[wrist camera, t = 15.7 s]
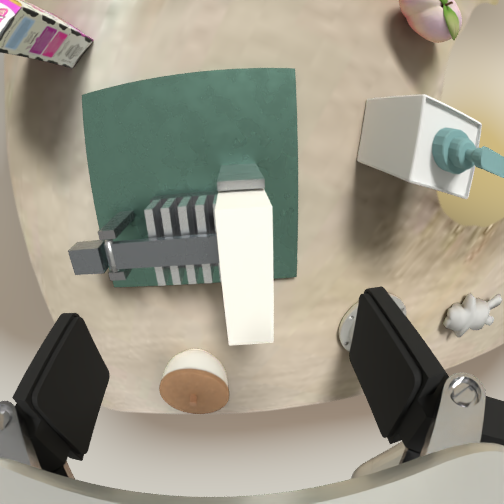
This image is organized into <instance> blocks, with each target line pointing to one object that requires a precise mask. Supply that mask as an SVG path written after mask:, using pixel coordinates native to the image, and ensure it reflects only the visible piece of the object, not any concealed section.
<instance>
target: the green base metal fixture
mask: <svg viewBox="0 0 504 504" xmlns="http://www.w3.org/2000/svg"><path fill="white" fill-rule="evenodd" d="M82 108H83V122H84V134H85V144H86V153H87V161H88V168H89V175H90V181H91V188H92V193H93V199H94V205H95V210H96V215H97V220H98V225H99V229H100V230H99V231H98V235H99V239H100V240H108V239H113V241H123V240H135V239H147V238H159V237H171V236H184V235H198V234H212V233H217V231H216V219H215V206H216V201H217V196H218V191H224V190H239V189H257V188H264V190H265V192H266V194H267V196H268V198H269V201H270V203H271V205H272V214H273V279H277V278H290V277H296V276H297V239H298V140H297V104H296V79H295V69H292V68H249V69H227V70H214V71H203V72H193V73H185V74H177V75H170V76H164V77H158V78H152V79H146V80H141V81H136V82H131V83H127V84H122V85H118V86H114V87H110V88H106V89H102V90H98V91H94V92H91V93H87V94H84V95H82ZM109 270H110V267H109ZM108 274H109V278H110V281H113V284H114V287H136V286H163V285H181V284H199V283H217V282H222V281H221V271H220V263H212V264H196V265H180V266H164V267H148V268H131V269H120V270H119V271H118V272H112V270H110V271H109V273H108Z"/></svg>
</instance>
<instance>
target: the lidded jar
mask: <svg viewBox="0 0 504 504" xmlns="http://www.w3.org/2000/svg"><path fill="white" fill-rule="evenodd" d="M160 394H161V396H162V398H163V399H164V400H165V401H166V402H167V403H168V404H169V405H170V406H172V407H174V408H176V409H178V410H180V411H183V412H187V413H193V414H205V413H211V412H214V411H217V410H219V409H221V408H222V407H224V406H225V405H226V403H227V402H228V399H229V389H228V379H227V374H226V371H225V369H224V367H223V365H222V364H221V362H220V361H219V360H218V359H217V358H216V357H215V356H213V355H212V354H210V353H209V352H207V351H205V350H202V349H196V348H195V349H188V350H186V351H183V352H181V353H179V354H177V355H176V356H174V357H173V358H172V359H171V360H170V361H169V363H168V365H167V366H166V368H165V371H164V374H163V377H162V380H161V383H160Z"/></svg>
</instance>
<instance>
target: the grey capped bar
mask: <svg viewBox="0 0 504 504" xmlns="http://www.w3.org/2000/svg"><path fill="white" fill-rule="evenodd" d="M68 252H69V256H70V259H71V263H72V266H73V269H74V273H75V275H81V274H101V273H105V271H106V270H107V269H108V267H110V270H112V272H118V271H119V270H120V269H131V268H148V267H164V266H180V265H196V264H212V263H220V262H219V252H218V241H217V233H212V234H198V235H184V236H171V237H159V238H147V239H135V240H123V241H113V239H108V240H96V241H85V242H77V243H76V244H75V245H74V246H73V247H72V248H71V249H69V250H68Z"/></svg>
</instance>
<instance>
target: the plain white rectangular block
mask: <svg viewBox="0 0 504 504" xmlns="http://www.w3.org/2000/svg"><path fill="white" fill-rule="evenodd" d="M215 219H216V231H217V241H218V252H219V262H220V271H221V281H222V290H223V299H224V308H225V317H226V325H227V333H228V342H229V345H245V344H259V343H271V342H274V290H273V214H272V205H271V203H270V201H269V198H268V196H267V194H266V192H265V190H264V188H257V189H239V190H224V191H218V196H217V201H216V206H215Z"/></svg>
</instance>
